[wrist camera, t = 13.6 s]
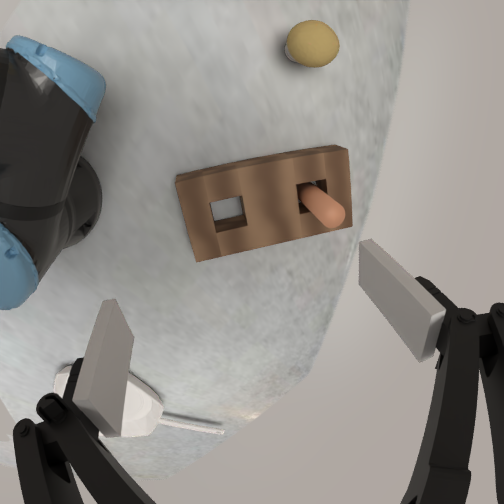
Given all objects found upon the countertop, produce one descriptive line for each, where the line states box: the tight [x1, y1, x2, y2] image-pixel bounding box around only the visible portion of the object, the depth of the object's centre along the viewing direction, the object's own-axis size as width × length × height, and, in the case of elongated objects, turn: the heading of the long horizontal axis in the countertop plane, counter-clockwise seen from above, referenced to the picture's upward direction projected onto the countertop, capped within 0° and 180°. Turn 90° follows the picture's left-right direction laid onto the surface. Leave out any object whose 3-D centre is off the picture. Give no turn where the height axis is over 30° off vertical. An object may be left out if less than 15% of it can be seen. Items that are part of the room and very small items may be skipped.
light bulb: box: [285, 20, 340, 67], centre depth 34 cm, size 6×6×10 cm
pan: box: [54, 365, 225, 437], centre depth 62 cm, size 28×41×4 cm
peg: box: [296, 182, 345, 228], centre depth 43 cm, size 3×3×12 cm
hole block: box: [175, 145, 353, 262], centre depth 45 cm, size 24×12×4 cm, turn 100°
